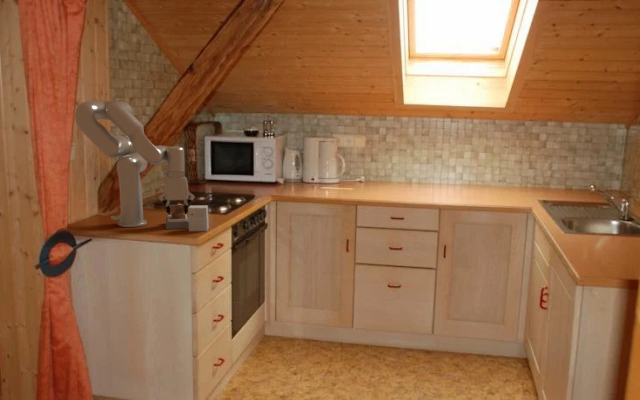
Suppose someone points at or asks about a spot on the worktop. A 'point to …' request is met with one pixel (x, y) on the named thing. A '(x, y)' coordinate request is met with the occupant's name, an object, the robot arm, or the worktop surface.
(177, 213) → the walnut brick
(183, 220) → the grey open tray
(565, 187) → the worktop surface
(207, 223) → the small box
